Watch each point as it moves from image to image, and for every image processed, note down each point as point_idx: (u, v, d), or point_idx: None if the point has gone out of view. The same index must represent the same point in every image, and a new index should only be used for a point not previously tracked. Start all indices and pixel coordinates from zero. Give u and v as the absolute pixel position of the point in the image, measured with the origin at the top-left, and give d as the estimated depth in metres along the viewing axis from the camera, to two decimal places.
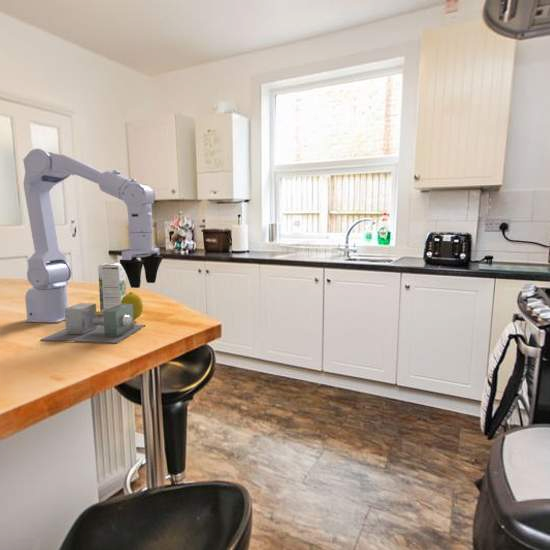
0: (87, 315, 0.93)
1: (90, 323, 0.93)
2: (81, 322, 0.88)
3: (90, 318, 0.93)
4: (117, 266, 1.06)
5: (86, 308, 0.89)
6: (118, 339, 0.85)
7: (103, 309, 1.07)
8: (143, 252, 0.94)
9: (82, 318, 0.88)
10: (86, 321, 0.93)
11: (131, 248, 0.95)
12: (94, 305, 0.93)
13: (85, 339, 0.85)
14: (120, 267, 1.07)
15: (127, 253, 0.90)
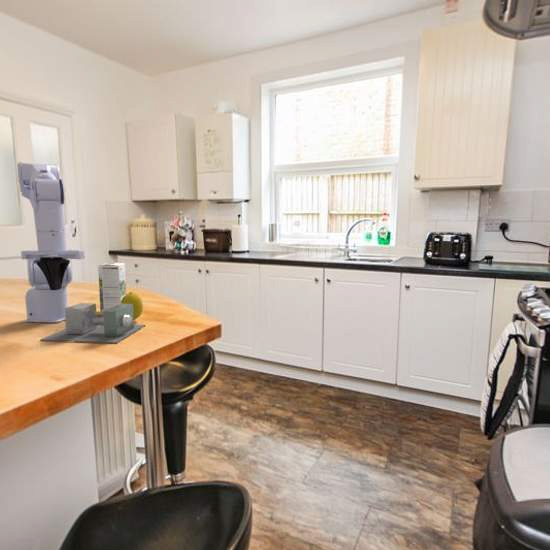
0: (87, 315, 0.93)
1: (90, 323, 0.93)
2: (81, 322, 0.88)
3: (90, 318, 0.93)
4: (117, 266, 1.06)
5: (86, 308, 0.89)
6: (118, 339, 0.85)
7: (103, 309, 1.07)
8: (34, 253, 0.87)
9: (82, 318, 0.88)
10: (86, 321, 0.93)
11: None
12: (94, 305, 0.93)
13: (85, 339, 0.85)
14: (120, 267, 1.07)
15: None
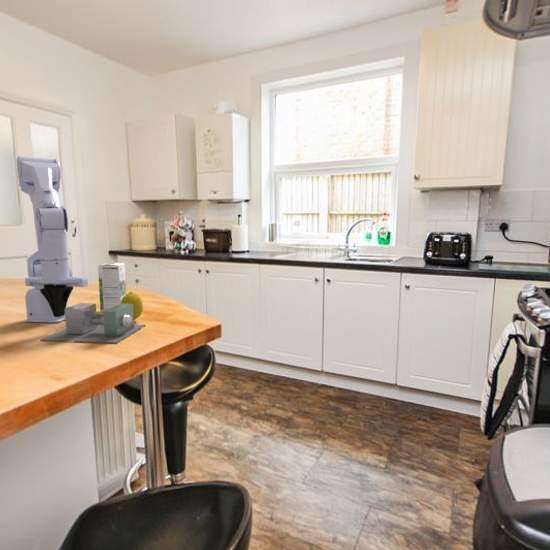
0: (87, 315, 0.93)
1: (90, 323, 0.93)
2: (81, 322, 0.88)
3: (90, 318, 0.93)
4: (117, 266, 1.06)
5: (86, 308, 0.89)
6: (118, 339, 0.85)
7: (103, 309, 1.07)
8: (38, 281, 0.88)
9: (82, 318, 0.88)
10: (86, 321, 0.93)
11: None
12: (94, 305, 0.93)
13: (85, 339, 0.85)
14: (120, 267, 1.07)
15: None
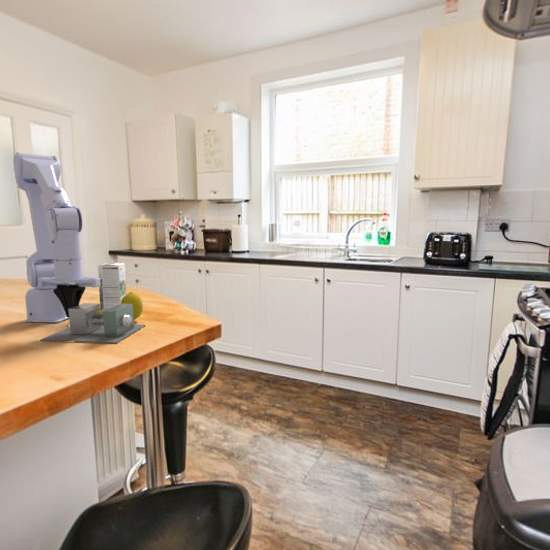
0: (91, 315, 0.92)
1: None
2: (85, 322, 0.88)
3: None
4: (117, 266, 1.06)
5: (90, 308, 0.89)
6: (118, 339, 0.85)
7: (103, 309, 1.07)
8: (51, 281, 0.88)
9: (86, 318, 0.88)
10: (90, 321, 0.93)
11: None
12: (98, 305, 0.92)
13: (85, 339, 0.85)
14: (120, 267, 1.07)
15: None
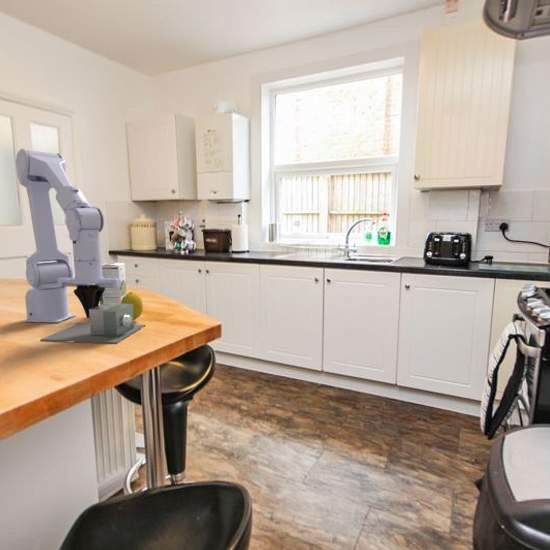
0: None
1: None
2: None
3: None
4: (117, 266, 1.06)
5: None
6: (118, 339, 0.85)
7: None
8: (71, 281, 0.87)
9: None
10: None
11: None
12: None
13: (85, 339, 0.85)
14: (120, 267, 1.07)
15: None
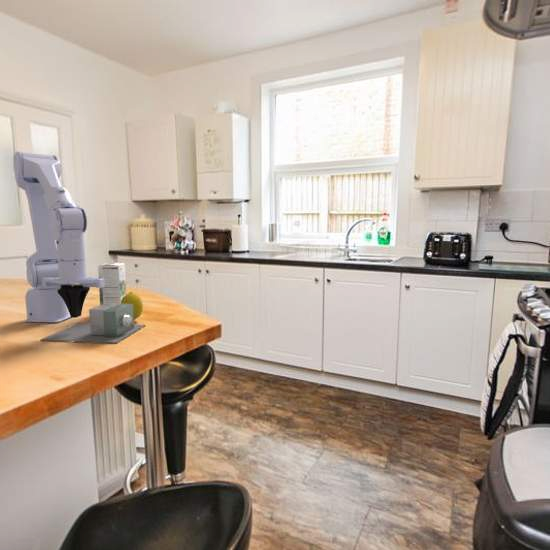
0: None
1: None
2: None
3: None
4: (117, 266, 1.06)
5: None
6: (118, 339, 0.85)
7: None
8: (55, 281, 0.88)
9: None
10: None
11: None
12: None
13: (85, 339, 0.85)
14: (120, 267, 1.07)
15: None
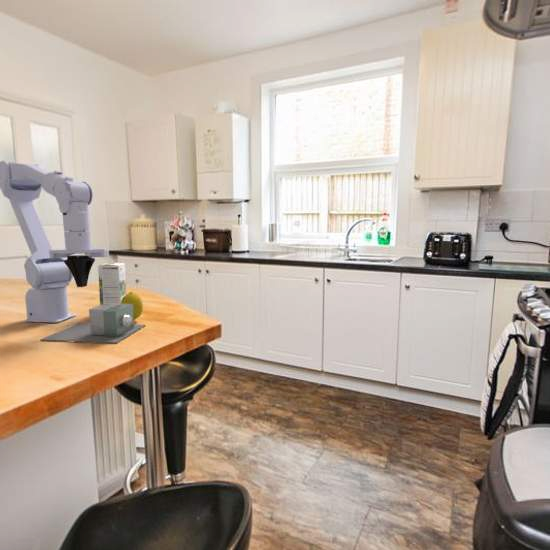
0: None
1: None
2: None
3: None
4: (117, 266, 1.06)
5: None
6: (118, 339, 0.85)
7: None
8: (62, 252, 0.92)
9: None
10: None
11: None
12: None
13: (85, 339, 0.85)
14: (120, 267, 1.07)
15: None
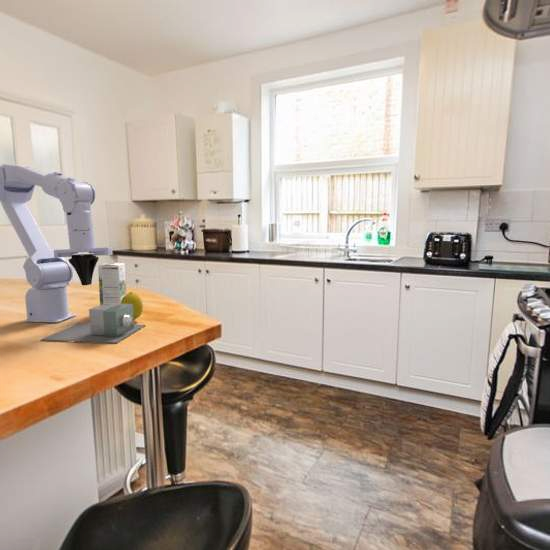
0: None
1: None
2: None
3: None
4: (117, 266, 1.06)
5: None
6: (118, 339, 0.85)
7: None
8: (66, 251, 0.94)
9: None
10: None
11: None
12: None
13: (85, 339, 0.85)
14: (120, 267, 1.07)
15: None
